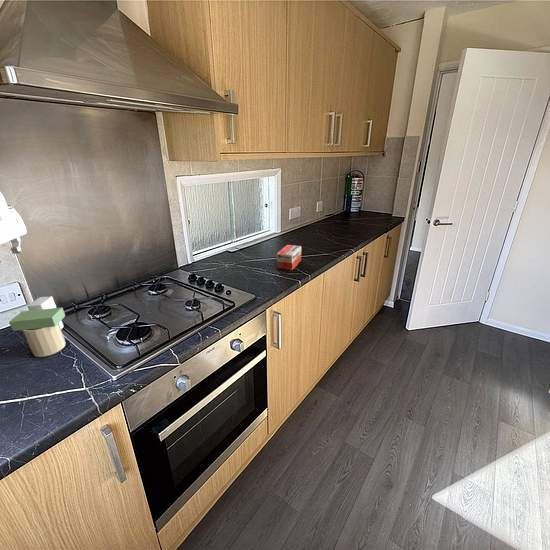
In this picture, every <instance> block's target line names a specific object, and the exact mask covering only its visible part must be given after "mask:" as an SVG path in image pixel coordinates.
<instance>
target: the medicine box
mask: <svg viewBox="0 0 550 550" xmlns="http://www.w3.org/2000/svg"><path fill="white" fill-rule="evenodd" d="M300 262H302V246H301V245H293V244H286V245H285V246H284V247H283V248H281V249H280V250H279V251H278V252H277V253H276V269H279V270H286V271H293V270H294V269H295V268H296V267H297V266H298V265H299V264H300Z"/></svg>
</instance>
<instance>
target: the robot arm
mask: <svg viewBox="0 0 550 550" xmlns="http://www.w3.org/2000/svg"><path fill="white" fill-rule="evenodd" d="M27 232H28V230H27V226H26V225H25V223H24V220H23V218H22V217H21V214H20V213H19V212H17V210H16V209H15V208H14V207H13V206H12V205H8V203H7V201H6V198H5V196H4V194H3V193H2V192H1V191H0V246H2V245H4V244H6V243H8V242H10V243H11V247H10V251H11V253H12V254H13V255H16V254H17V255H18V254H20V253H22V252H23V251H22V248H21V242H22V241H21V237H23V236H25V235H27ZM0 263H1V260H0Z"/></svg>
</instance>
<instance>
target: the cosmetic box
mask: <svg viewBox="0 0 550 550" xmlns="http://www.w3.org/2000/svg"><path fill="white" fill-rule="evenodd" d="M51 308H57V305H56V303H55V299H54V297H53V296H39V297H37V298H36V299H35V300H34V301H32V302H31V303H30V304H28V305H27V309H28V311H31V310H41V309H51ZM59 325H60V328H61V330H63V328H64V327H65V326H64V322H63V320H61V321H60V322H59Z"/></svg>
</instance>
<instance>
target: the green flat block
mask: <svg viewBox="0 0 550 550" xmlns="http://www.w3.org/2000/svg"><path fill="white" fill-rule="evenodd" d="M65 317H66V314H65V311H64V308H63V307H62V306H61V307H56V308H51V309H41V310H31V311H29V310H22V311H21V312H19V313H18V314H17V315H15V316H14V317H13V318H12V319H10V320H9V321H8V323H9V326H10V328H11V330H12V332H15V331H22V330H27V329H36V328H45V327H55V326H56V325H57V324H58V323H59V322H60V321H63V319H64V318H65Z"/></svg>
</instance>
